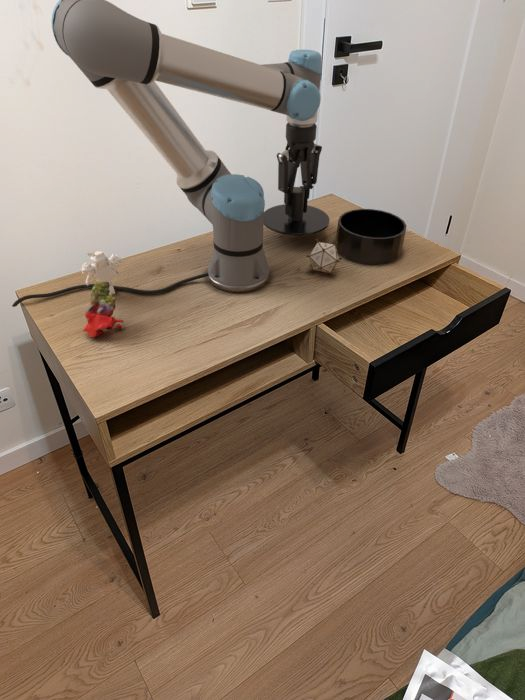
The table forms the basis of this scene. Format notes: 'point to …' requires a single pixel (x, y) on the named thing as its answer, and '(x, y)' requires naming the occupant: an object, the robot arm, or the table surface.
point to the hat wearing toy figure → (102, 268)
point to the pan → (370, 236)
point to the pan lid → (296, 218)
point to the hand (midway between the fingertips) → (295, 212)
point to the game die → (324, 257)
